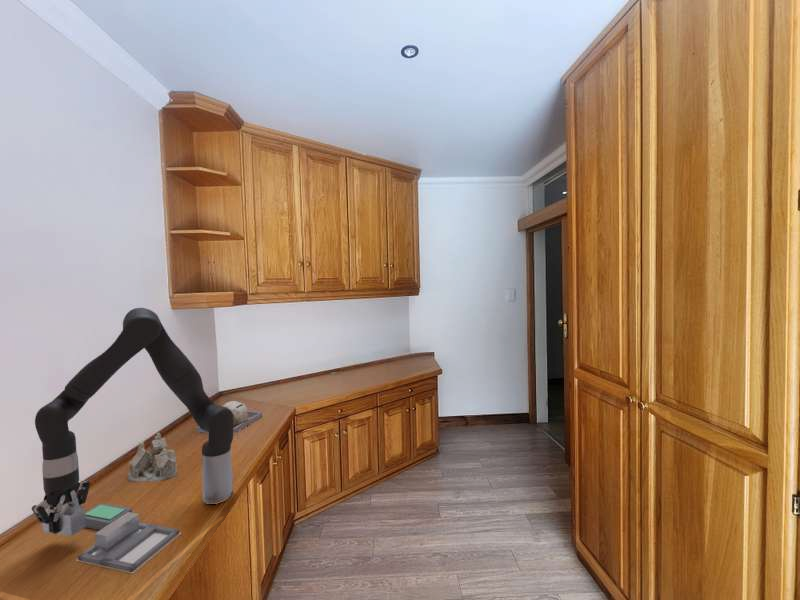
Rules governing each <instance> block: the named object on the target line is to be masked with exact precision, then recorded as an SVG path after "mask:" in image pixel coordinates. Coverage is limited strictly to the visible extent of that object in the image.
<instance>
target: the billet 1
mask: <svg viewBox="0 0 800 600" xmlns="http://www.w3.org/2000/svg"><path fill="white" fill-rule="evenodd" d="M46 508H47V509H46V510H45V511H46V512H47V514H48V507H46ZM55 508H56V507H55ZM85 512H86V507H85V506H81V505H80V506H76V505H74V506H73V505H68V504H67V503H66V504H65V505H63V506H62V510H61V512H60V513H59V518H58V520H59V529H60V532H59V533H57V534H56V535H62V536H67V537H68V536H69V537H72V536H74V535H76V534H77V533H79V532H81V531H82V530H83V529H85V528H87V527H86V517H85ZM53 515H54V513H53ZM41 524H42V532H45V533H51V532H49V523H48V524H45V523H41ZM51 534H52V533H51Z"/></svg>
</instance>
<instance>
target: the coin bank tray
mask: <svg viewBox="0 0 800 600" xmlns="http://www.w3.org/2000/svg"><path fill="white" fill-rule="evenodd" d="M252 416H253V417H252ZM248 417H250V418H248V419H247V421H245V422H243V423H241V424H240V425H238V426H236V427H234V429H233V433H235V432H236V433H238V432H240V431H241V430H243V429H245V428H246V427H248V426H249V425H251V424H253V423H254V422H256V421H257V419H258V420H260V419H261V418H262V417H263V412H262V411H250V410H248ZM260 417H261V418H260ZM255 420H256V421H255ZM252 422H253V423H252ZM250 423H251V424H250ZM247 425H248V426H247ZM244 427H245V428H244ZM242 428H243V429H242ZM240 429H241V430H240ZM239 430H240V431H239ZM237 431H238V432H237ZM195 432H196V433H200V432H203V433H202V434H209V432H207V431H204V430H202V429H201V428H200V427H199V426H198V425H197V426H196V427H195ZM236 433H235V434H236Z"/></svg>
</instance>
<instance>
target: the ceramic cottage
mask: <svg viewBox="0 0 800 600" xmlns="http://www.w3.org/2000/svg"><path fill="white" fill-rule="evenodd" d="M145 447H146V446H145V442H144V441H141V442H138V447H137V448H138V449H137V451H136V454H135V455H134V456H133V458H132V459H131V460H130V461H129V464H130V466H129V471H128V473H127V477H126V478H127V480H128V481H131V482H133V483H134V482H141V483H142V482H145V483H146V482H150V483H151V482H162V481H164V480H167V479H169V478H173V477H175V476H176V475H177V474H178V465H177V457H176V453H175V449H167V447H168V444H167V441H166V438H165V437H162V435H161V433H160V432H157V433H156V436H154V440H151V443H150V450H146V449H145Z"/></svg>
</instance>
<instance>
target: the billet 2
mask: <svg viewBox="0 0 800 600" xmlns="http://www.w3.org/2000/svg"><path fill="white" fill-rule="evenodd" d="M139 522H140V514H139V513H136V512H132V513H131V512H127V513H126V514H124V515H123V516H121V517H119V518H118V519H116V520H115V521H113V522H112V523H110V524H109V525H107V526H106V527H104V528H103V529H101V530H98V531H96V532H95V533H94V545H95V554H96V555H100V556H105V557H106V556H107V555H109V554H110V553H111V552H113V551H114V550H116V549H117V548H118V547H120V546H121V545H122V544H124V543H125V542H127V541H128V540H129V539H131V538H132V537H133V536H135V535H136V534H137V533H139Z"/></svg>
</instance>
